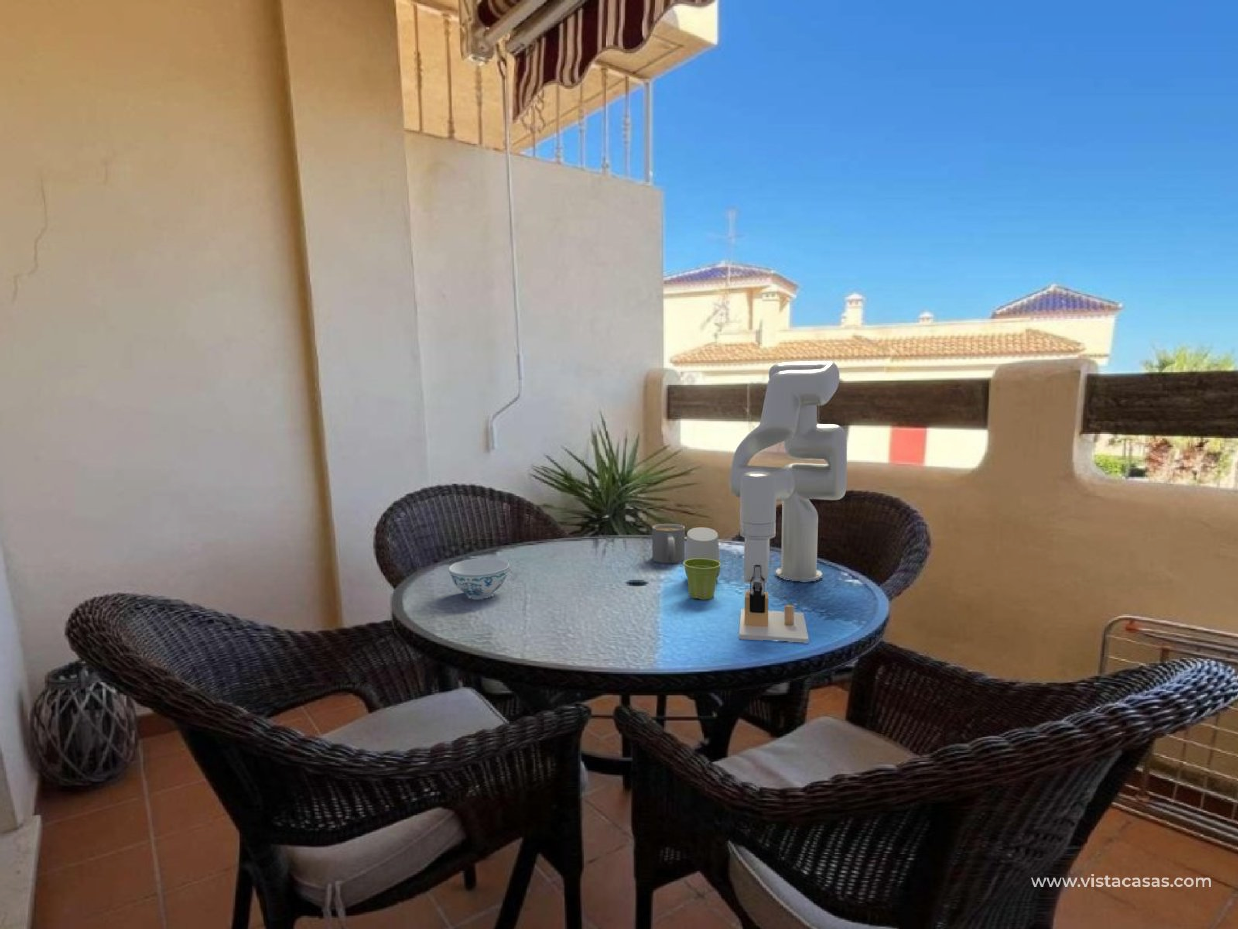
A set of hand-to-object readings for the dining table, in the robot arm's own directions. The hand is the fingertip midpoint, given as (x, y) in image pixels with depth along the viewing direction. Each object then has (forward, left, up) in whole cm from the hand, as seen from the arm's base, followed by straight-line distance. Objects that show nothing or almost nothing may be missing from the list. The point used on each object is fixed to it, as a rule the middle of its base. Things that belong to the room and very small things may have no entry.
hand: (757, 604), depth 144 cm
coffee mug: (-51, -27, -5) cm, 58 cm away
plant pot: (-18, -14, -5) cm, 23 cm away
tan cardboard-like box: (+1, 0, -4) cm, 4 cm away
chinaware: (-9, -70, -5) cm, 70 cm away
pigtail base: (+1, +3, -5) cm, 6 cm away
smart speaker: (-32, -15, -5) cm, 36 cm away
